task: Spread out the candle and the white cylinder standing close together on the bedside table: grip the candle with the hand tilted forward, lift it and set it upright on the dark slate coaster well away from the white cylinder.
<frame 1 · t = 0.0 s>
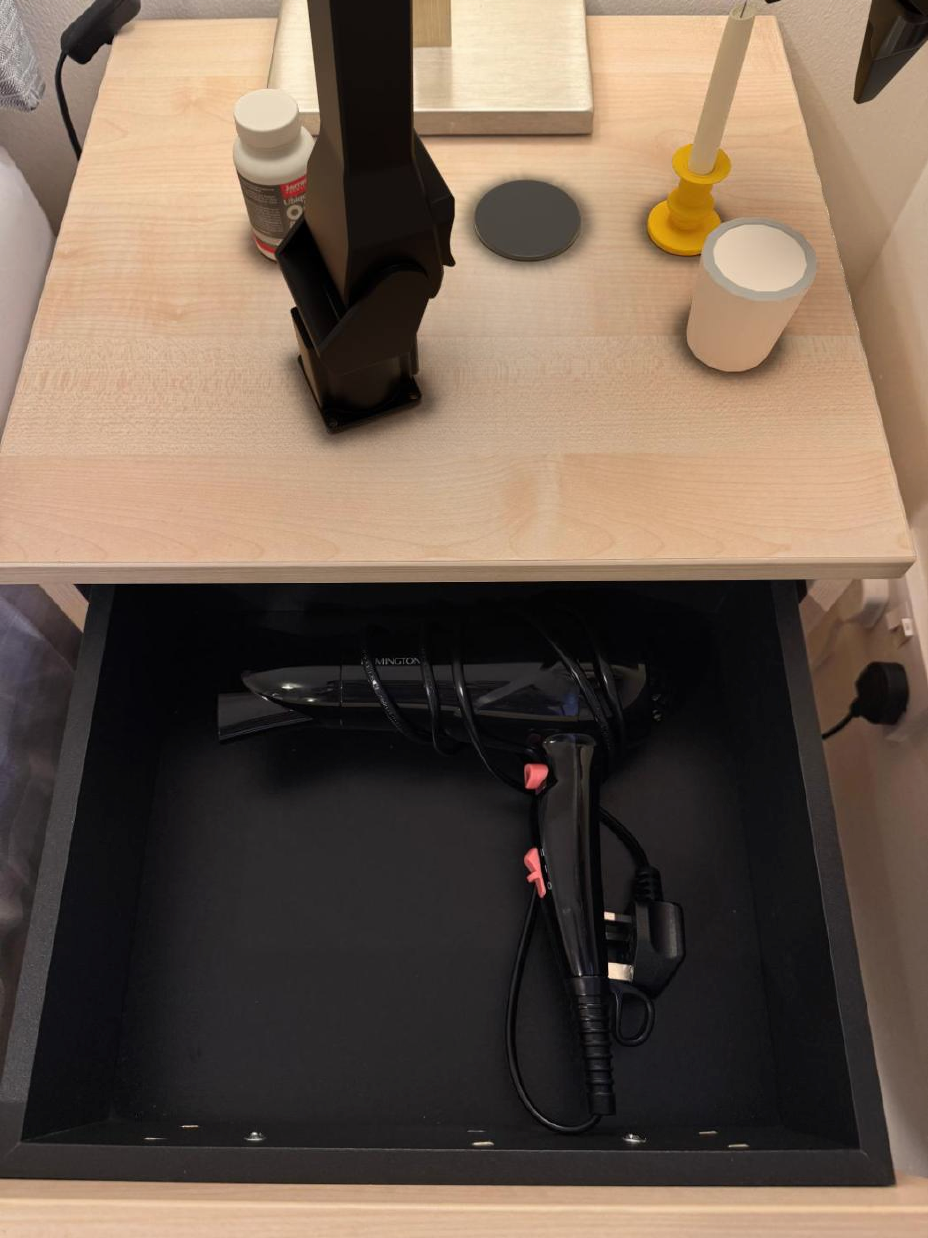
hand: (816, 48, 48), 15 cm above the nightstand, tool pointing down, fingers open, 9 cm apart
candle: (682, 231, 63), on the nightstand
pill bottle: (293, 239, 63), on the nightstand
coaster: (527, 221, 63), on the nightstand
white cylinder: (727, 340, 59), on the nightstand
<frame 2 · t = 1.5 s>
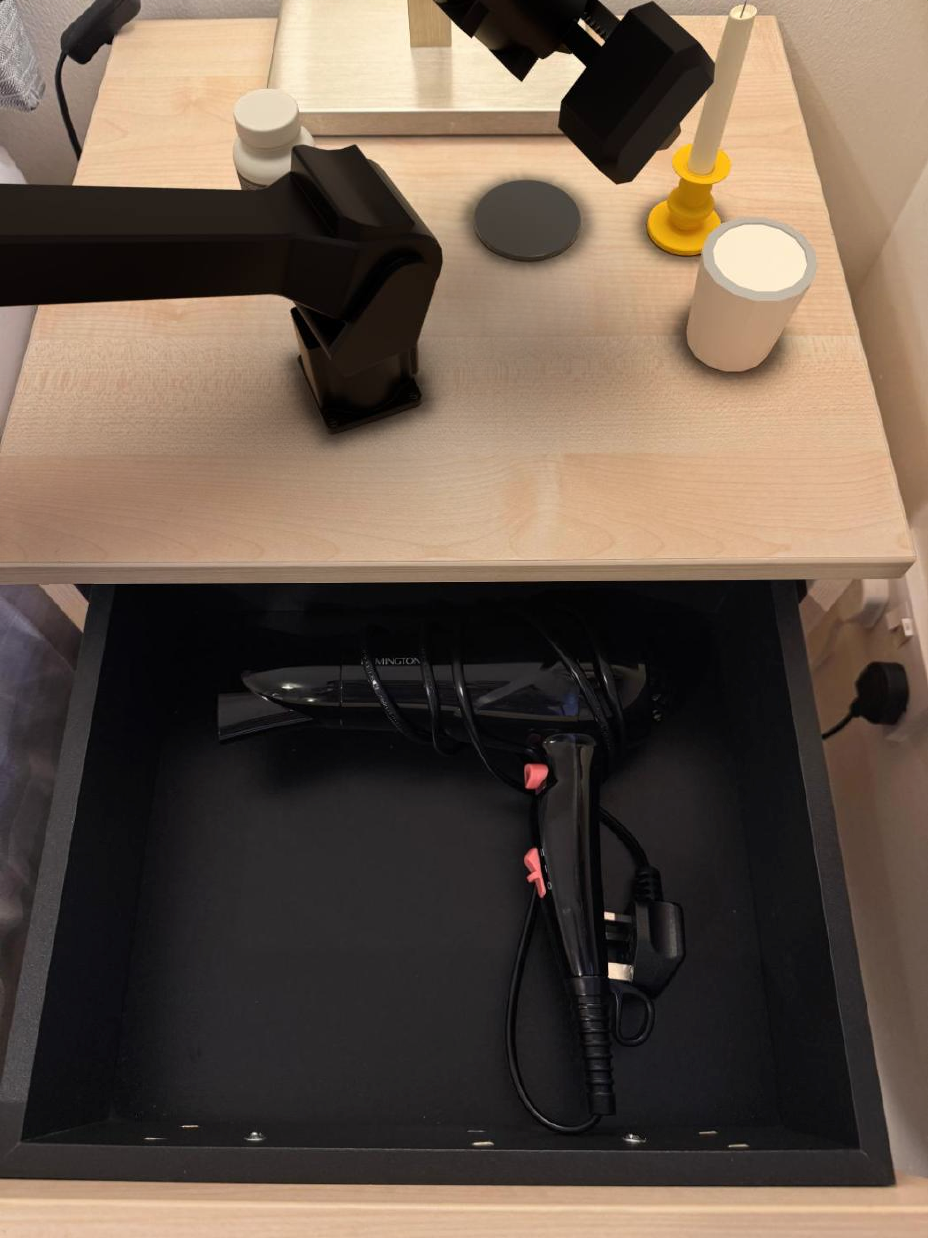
hand: (622, 90, 49), 13 cm above the nightstand, tool tilted 45°, fingers open, 9 cm apart
nothing on the nightstand moved.
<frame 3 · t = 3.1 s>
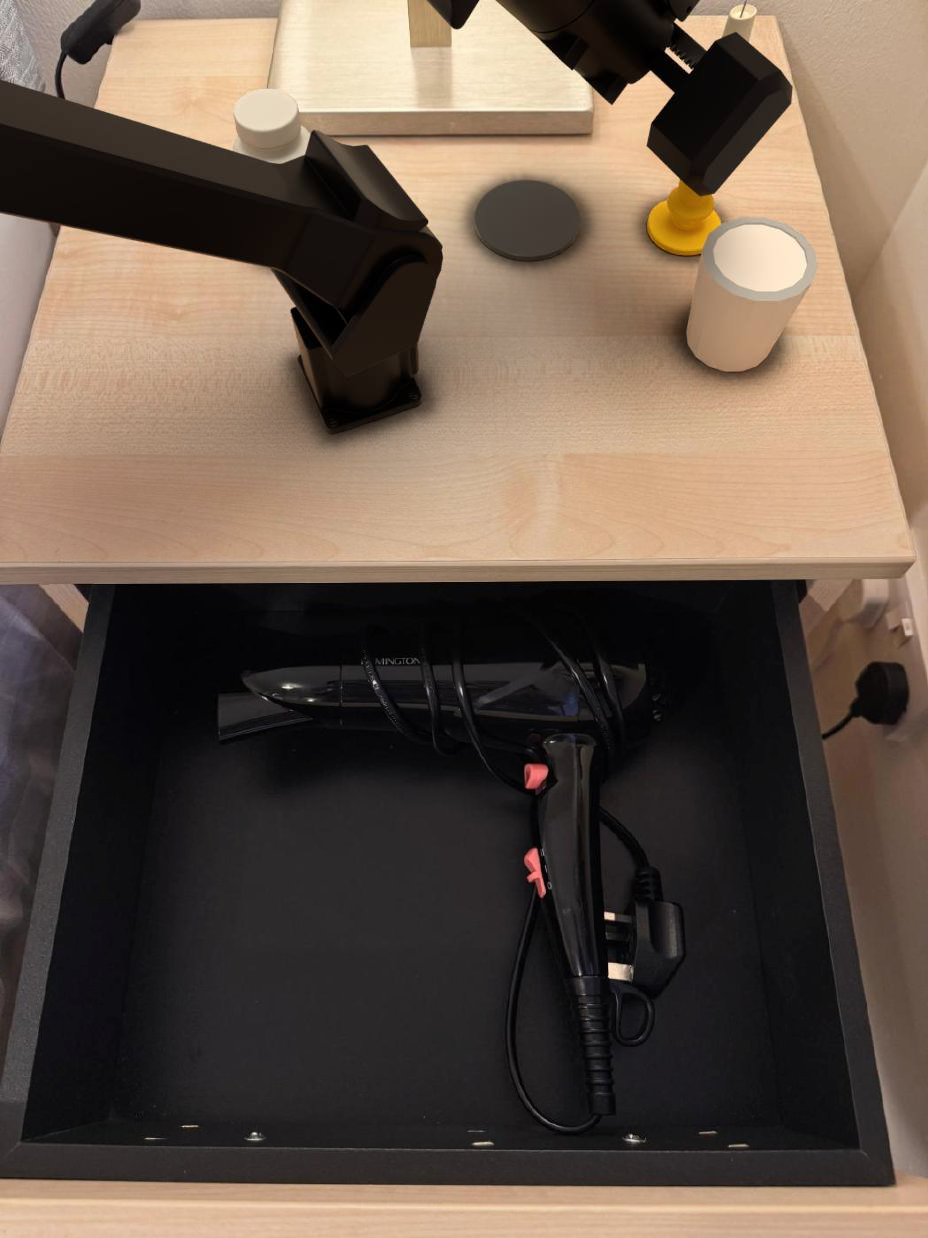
hand: (695, 103, 53), 10 cm above the nightstand, tool tilted 45°, fingers open, 9 cm apart
nothing on the nightstand moved.
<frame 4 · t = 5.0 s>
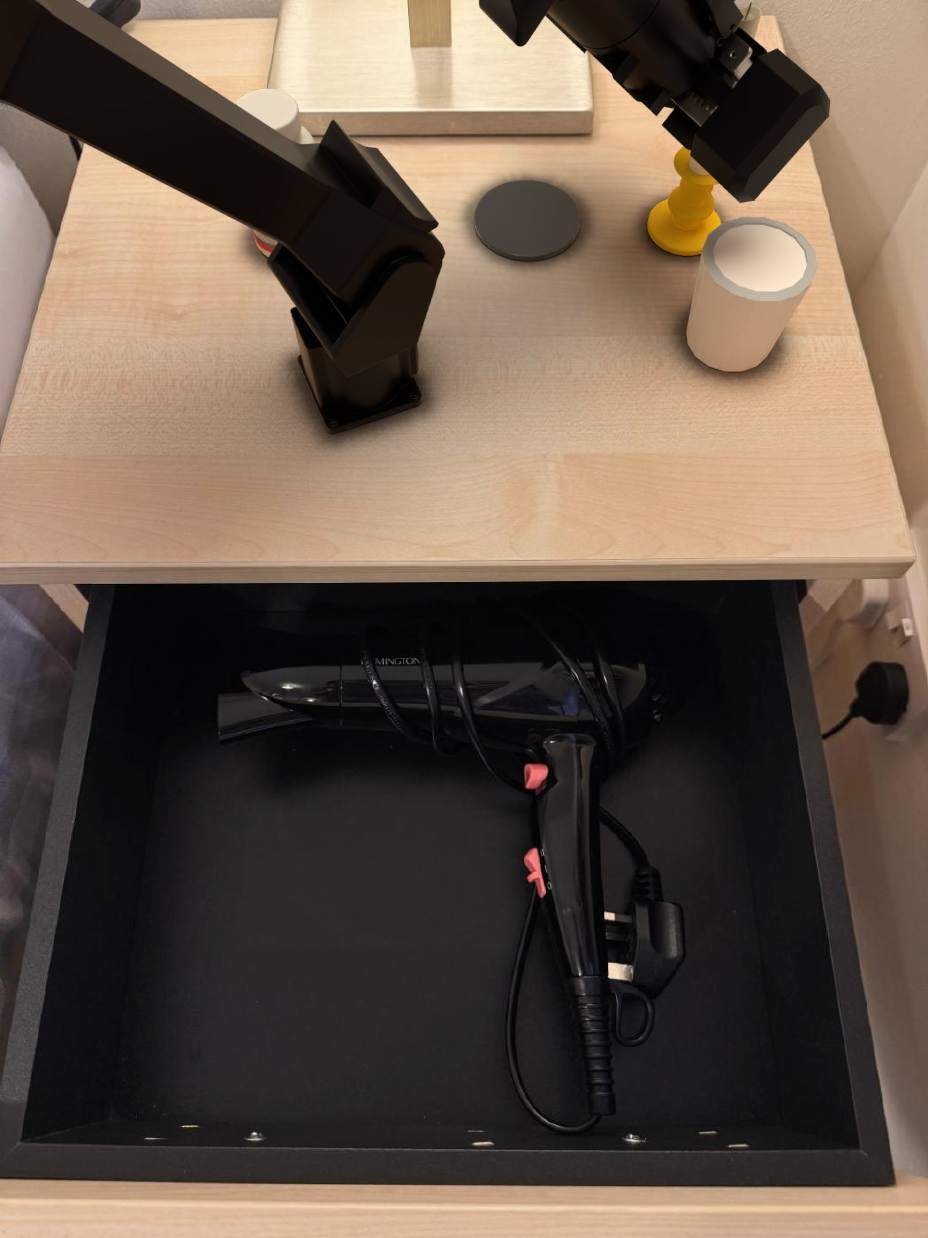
hand: (729, 114, 56), 8 cm above the nightstand, tool tilted 45°, fingers closed on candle
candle: (682, 231, 63), on the nightstand, touching gripper
everything else where it was.
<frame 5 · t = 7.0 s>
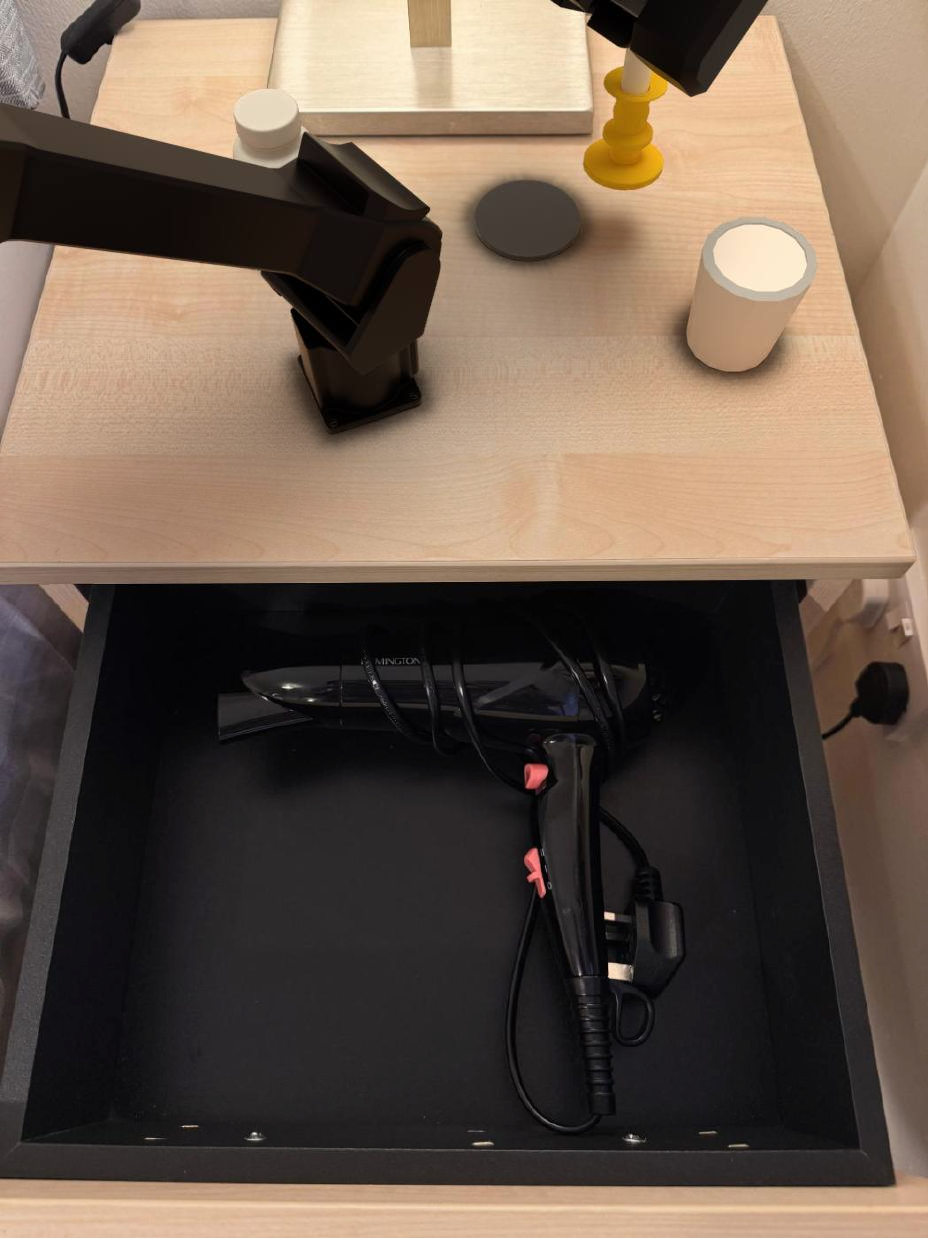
hand: (653, 17, 51), 14 cm above the nightstand, tool tilted 45°, fingers closed on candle
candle: (622, 168, 58), point 5 cm above the nightstand, touching gripper
everything else where it was.
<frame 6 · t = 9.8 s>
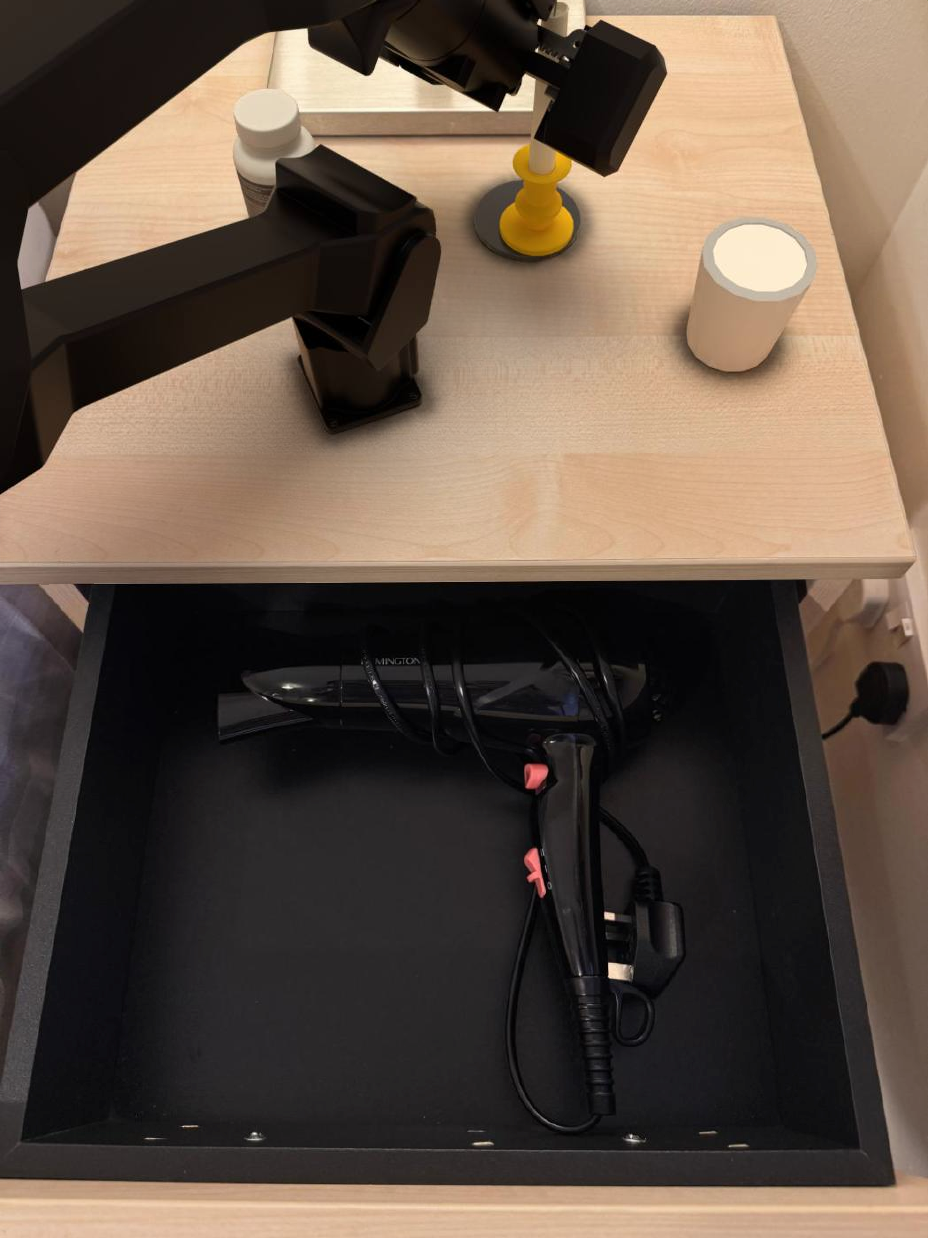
hand: (549, 93, 55), 9 cm above the nightstand, tool tilted 45°, fingers open, 6 cm apart
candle: (535, 231, 62), resting on coaster
everything else where it was.
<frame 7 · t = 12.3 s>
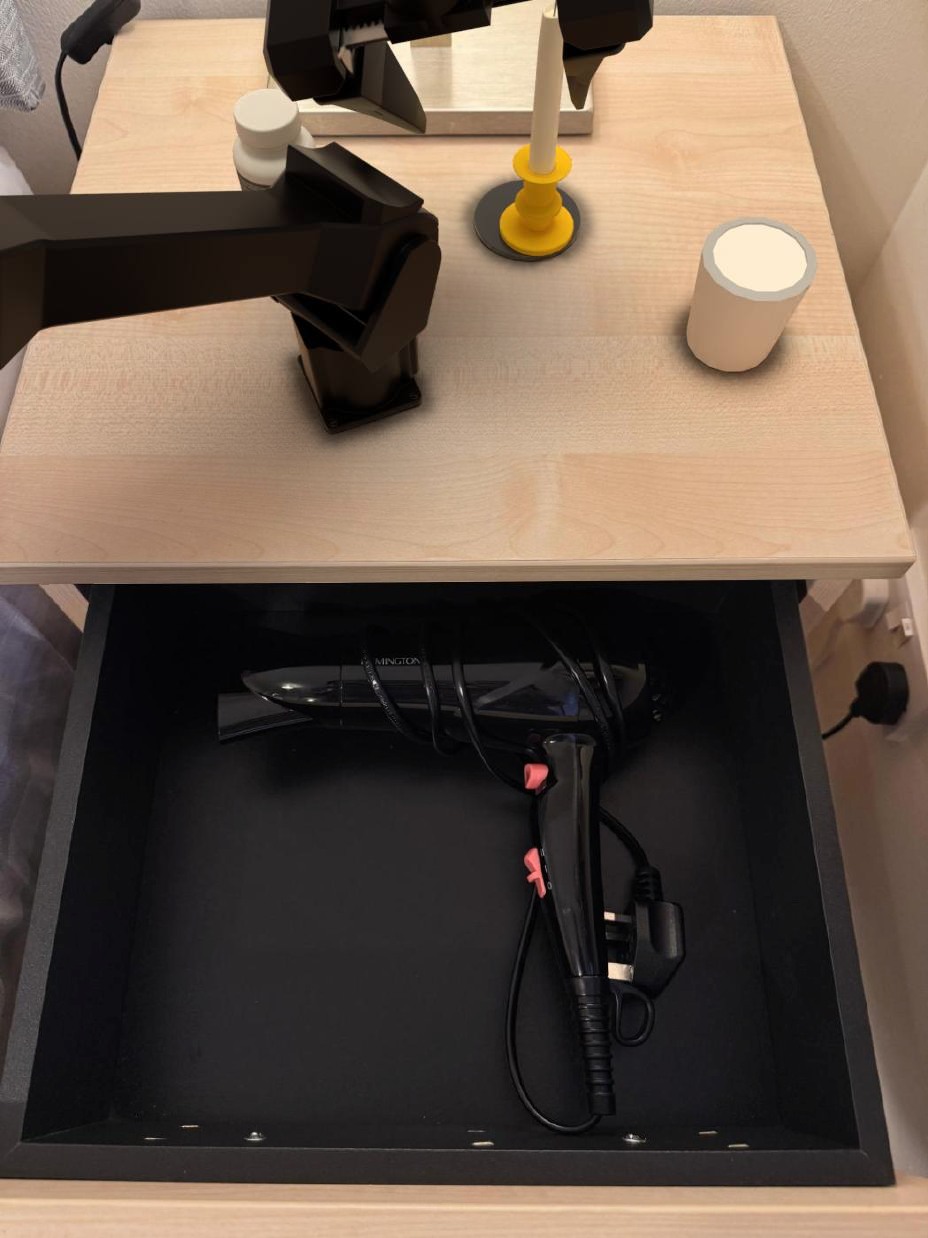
hand: (499, 114, 49), 12 cm above the nightstand, tool tilted 25°, fingers open, 9 cm apart
nothing on the nightstand moved.
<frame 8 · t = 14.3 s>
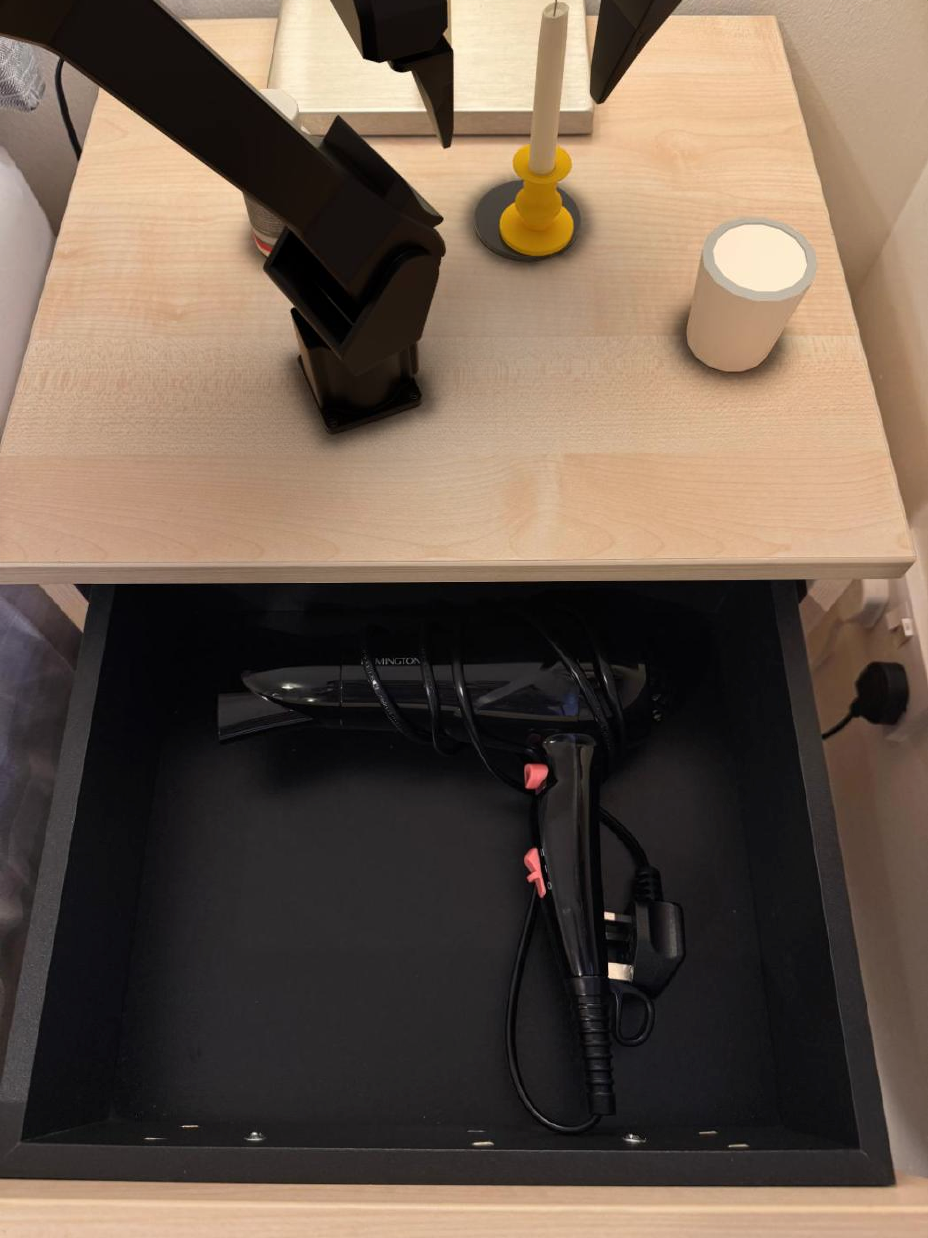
hand: (521, 120, 48), 13 cm above the nightstand, tool pointing down, fingers open, 9 cm apart
nothing on the nightstand moved.
at the end: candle 1.4 cm from the target spot, resting on coaster; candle tilted 0°; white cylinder moved 0.2 cm from its start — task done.
